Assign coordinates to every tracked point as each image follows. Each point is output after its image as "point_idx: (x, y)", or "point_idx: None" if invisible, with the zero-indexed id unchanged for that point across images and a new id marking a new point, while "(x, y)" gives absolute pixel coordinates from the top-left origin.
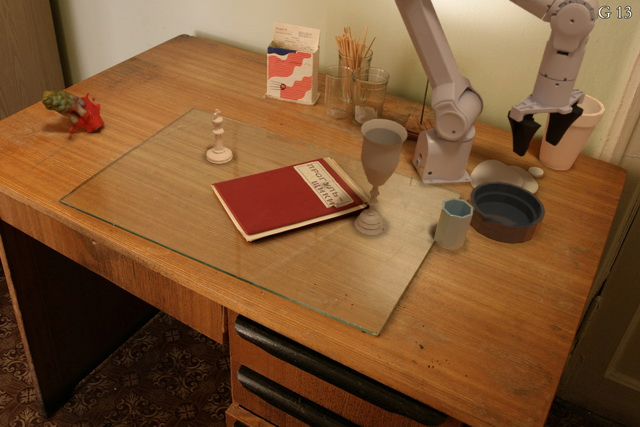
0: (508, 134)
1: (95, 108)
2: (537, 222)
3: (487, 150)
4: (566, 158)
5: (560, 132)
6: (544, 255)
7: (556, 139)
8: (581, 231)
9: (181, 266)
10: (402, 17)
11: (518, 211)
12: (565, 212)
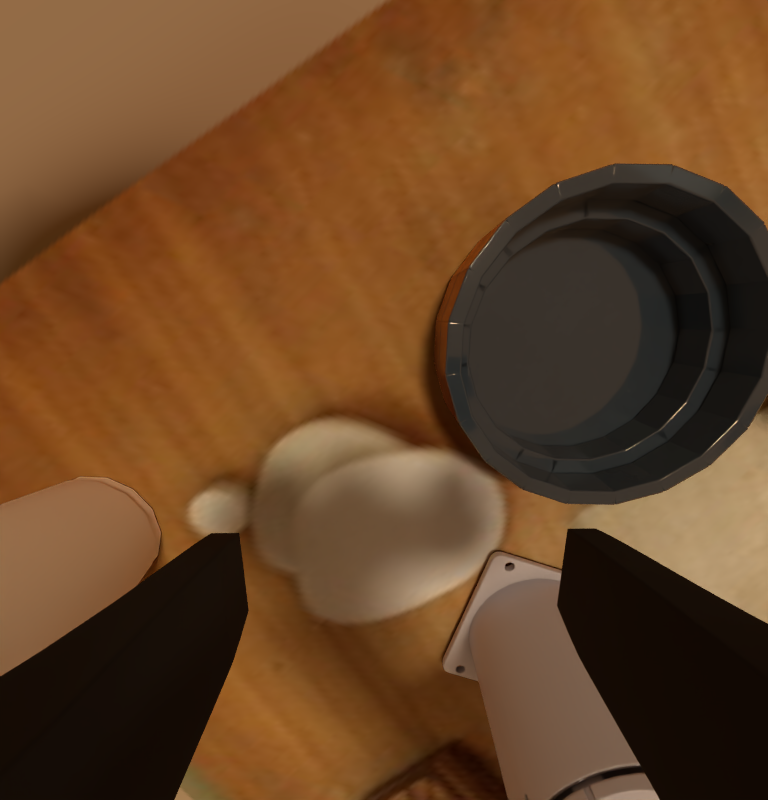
0: None
1: None
2: (610, 168)
3: (301, 662)
4: (73, 506)
5: (153, 641)
6: (571, 110)
7: (211, 578)
8: (318, 158)
9: None
10: None
11: (475, 352)
12: (290, 279)
